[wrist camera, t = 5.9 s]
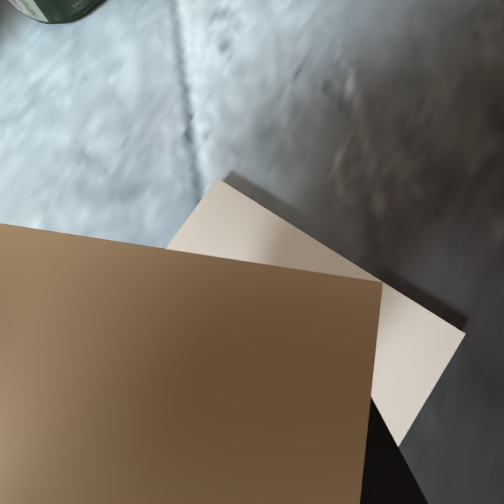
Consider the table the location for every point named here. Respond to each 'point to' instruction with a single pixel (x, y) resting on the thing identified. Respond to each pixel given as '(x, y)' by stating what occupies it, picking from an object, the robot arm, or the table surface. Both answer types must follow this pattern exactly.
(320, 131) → the table surface
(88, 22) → the table surface
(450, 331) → the plate
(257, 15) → the table surface
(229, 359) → the beech block
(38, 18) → the coffee jar
